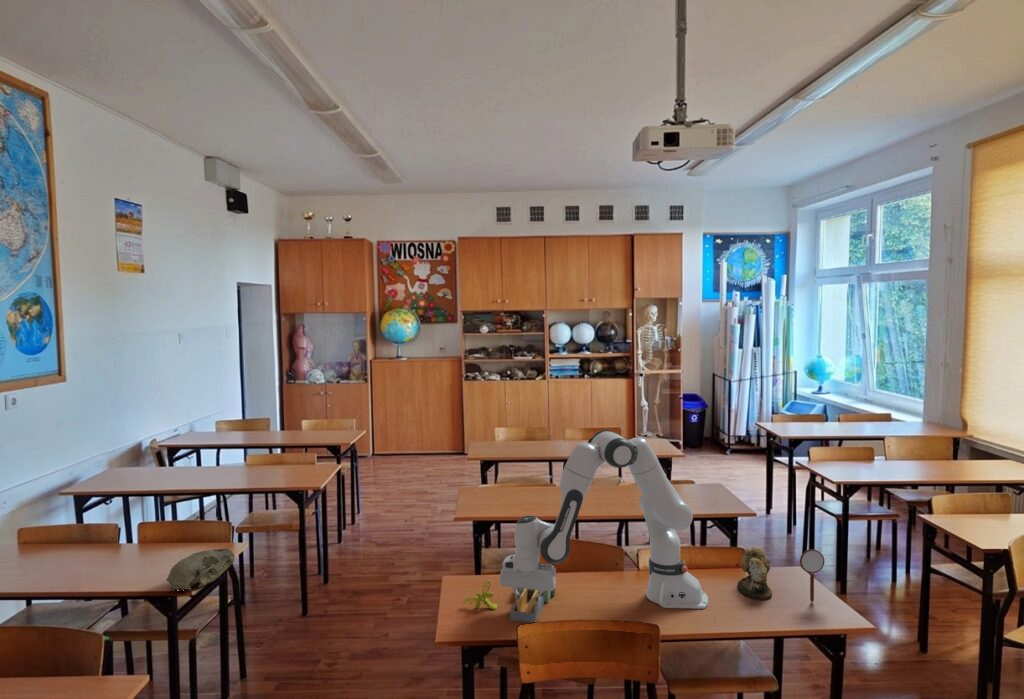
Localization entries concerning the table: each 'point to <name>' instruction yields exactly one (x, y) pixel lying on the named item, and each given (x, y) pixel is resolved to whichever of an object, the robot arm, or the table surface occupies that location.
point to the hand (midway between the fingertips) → (527, 599)
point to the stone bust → (755, 574)
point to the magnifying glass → (812, 566)
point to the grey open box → (533, 616)
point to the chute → (526, 602)
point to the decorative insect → (483, 598)
